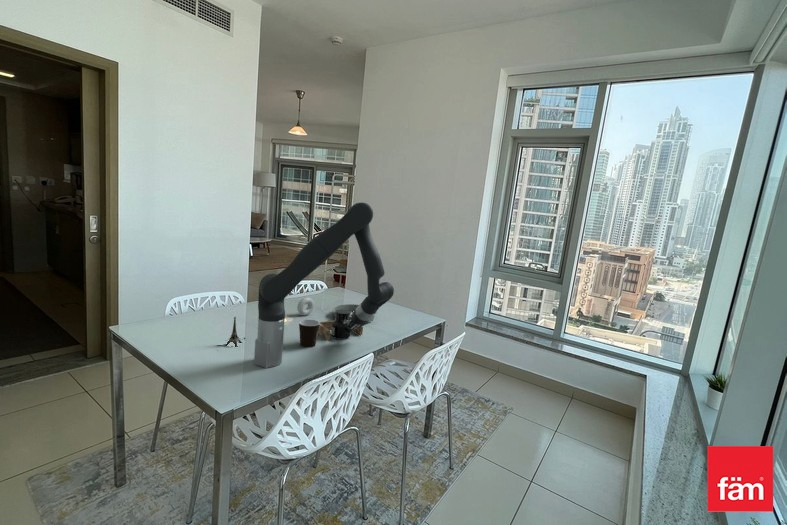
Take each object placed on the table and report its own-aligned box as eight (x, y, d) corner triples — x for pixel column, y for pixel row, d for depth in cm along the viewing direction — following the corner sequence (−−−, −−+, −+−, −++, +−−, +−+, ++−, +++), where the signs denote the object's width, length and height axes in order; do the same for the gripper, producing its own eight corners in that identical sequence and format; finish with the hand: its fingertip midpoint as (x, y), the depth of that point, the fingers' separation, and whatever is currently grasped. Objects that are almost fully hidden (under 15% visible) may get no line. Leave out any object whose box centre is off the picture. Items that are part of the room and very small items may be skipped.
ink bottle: (335, 331, 180) (338, 307, 179) (353, 334, 178) (355, 310, 177) (327, 337, 171) (329, 312, 169) (345, 341, 169) (347, 315, 167)
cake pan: (370, 311, 221) (370, 304, 220) (382, 325, 198) (382, 317, 197) (328, 311, 213) (329, 303, 212) (335, 325, 190) (336, 316, 189)
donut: (299, 317, 195) (300, 299, 193) (295, 316, 197) (296, 297, 195) (314, 314, 202) (316, 297, 201) (310, 313, 204) (312, 295, 203)
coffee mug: (313, 350, 155) (314, 327, 154) (293, 346, 157) (295, 323, 156) (323, 340, 167) (325, 319, 165) (305, 337, 168) (307, 316, 167)
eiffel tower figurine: (248, 338, 162) (249, 308, 160) (256, 346, 154) (258, 315, 152) (210, 344, 152) (211, 312, 150) (217, 353, 145) (219, 320, 142)
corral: (362, 335, 178) (363, 326, 178) (326, 340, 168) (327, 330, 167) (350, 327, 188) (350, 318, 187) (315, 331, 178) (316, 322, 177)
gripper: (374, 303, 165) (358, 322, 176) (347, 305, 157) (333, 324, 169) (379, 319, 161) (363, 336, 173) (352, 321, 154) (337, 340, 165)
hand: (348, 330), depth 171 cm, fingers closed
